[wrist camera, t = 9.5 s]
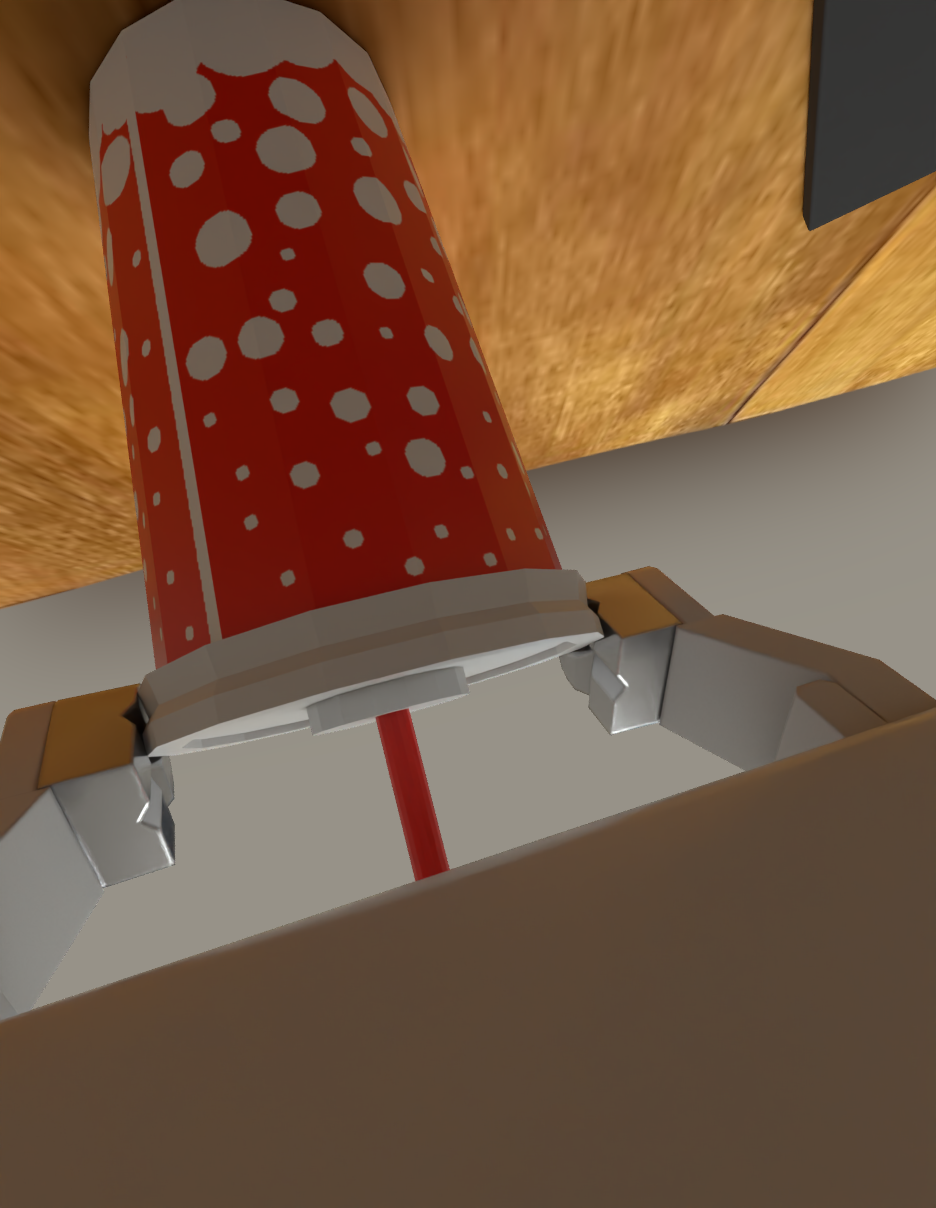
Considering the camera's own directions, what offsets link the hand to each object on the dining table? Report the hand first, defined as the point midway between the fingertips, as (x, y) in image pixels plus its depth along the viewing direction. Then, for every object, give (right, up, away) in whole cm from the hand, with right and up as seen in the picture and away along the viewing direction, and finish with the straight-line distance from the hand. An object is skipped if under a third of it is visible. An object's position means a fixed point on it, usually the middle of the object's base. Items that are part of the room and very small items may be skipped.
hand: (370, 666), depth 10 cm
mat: (+11, +13, -5) cm, 18 cm away
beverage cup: (-2, +8, +1) cm, 9 cm away
